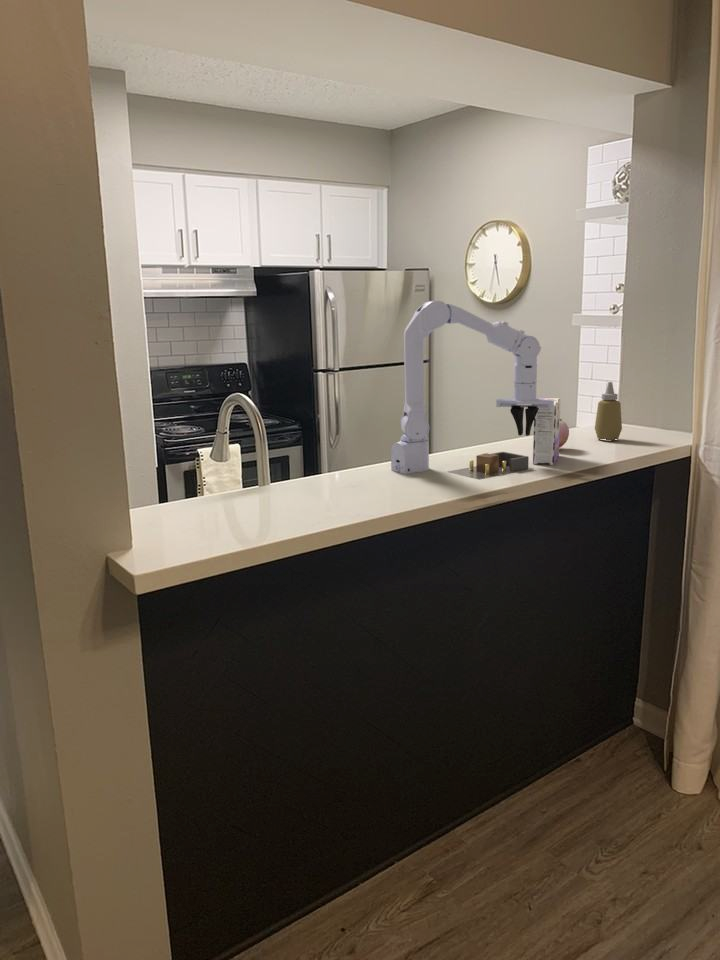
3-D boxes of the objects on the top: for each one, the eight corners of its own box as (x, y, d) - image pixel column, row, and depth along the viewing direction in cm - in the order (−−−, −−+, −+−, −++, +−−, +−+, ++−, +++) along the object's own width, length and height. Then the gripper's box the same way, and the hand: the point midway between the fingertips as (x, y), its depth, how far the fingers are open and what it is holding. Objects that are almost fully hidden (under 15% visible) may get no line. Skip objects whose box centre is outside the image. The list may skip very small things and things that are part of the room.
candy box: (538, 455, 222) (539, 397, 219) (559, 455, 220) (561, 397, 217) (532, 464, 209) (533, 403, 206) (554, 465, 208) (556, 404, 204)
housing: (511, 471, 196) (512, 459, 195) (486, 465, 203) (486, 454, 203) (528, 468, 199) (528, 456, 198) (502, 462, 207) (503, 451, 206)
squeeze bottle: (615, 437, 246) (618, 380, 242) (625, 441, 238) (628, 382, 234) (590, 438, 246) (592, 381, 242) (599, 442, 238) (602, 383, 234)
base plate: (478, 484, 188) (478, 469, 188) (446, 476, 198) (446, 461, 197) (534, 473, 199) (534, 459, 198) (501, 466, 208) (501, 452, 208)
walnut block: (489, 473, 195) (489, 457, 194) (476, 471, 197) (476, 455, 197) (498, 470, 197) (498, 454, 197) (485, 468, 200) (485, 453, 199)
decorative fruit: (540, 446, 235) (541, 413, 232) (568, 447, 233) (569, 413, 230) (539, 452, 226) (540, 418, 224) (568, 453, 224) (569, 418, 222)
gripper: (493, 383, 199) (492, 436, 202) (550, 384, 193) (548, 438, 196) (500, 381, 205) (500, 431, 208) (556, 381, 199) (554, 434, 202)
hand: (524, 435), depth 203 cm, fingers closed
